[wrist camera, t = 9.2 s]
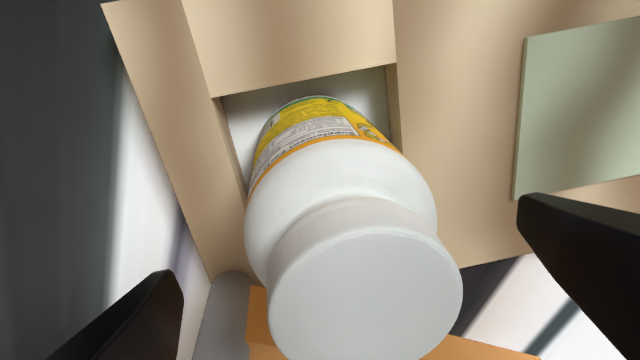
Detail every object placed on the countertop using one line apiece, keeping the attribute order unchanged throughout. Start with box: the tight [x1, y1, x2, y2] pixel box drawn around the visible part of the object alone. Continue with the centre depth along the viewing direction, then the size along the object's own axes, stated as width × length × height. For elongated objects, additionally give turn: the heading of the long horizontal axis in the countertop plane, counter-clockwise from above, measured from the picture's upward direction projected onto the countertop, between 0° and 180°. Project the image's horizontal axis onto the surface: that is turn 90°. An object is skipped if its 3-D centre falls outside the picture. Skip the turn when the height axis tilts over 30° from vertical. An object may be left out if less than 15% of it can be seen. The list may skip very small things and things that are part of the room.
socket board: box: [101, 0, 640, 288], centre depth 15 cm, size 22×14×2 cm, turn 100°
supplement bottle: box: [244, 95, 463, 360], centre depth 11 cm, size 5×5×10 cm
